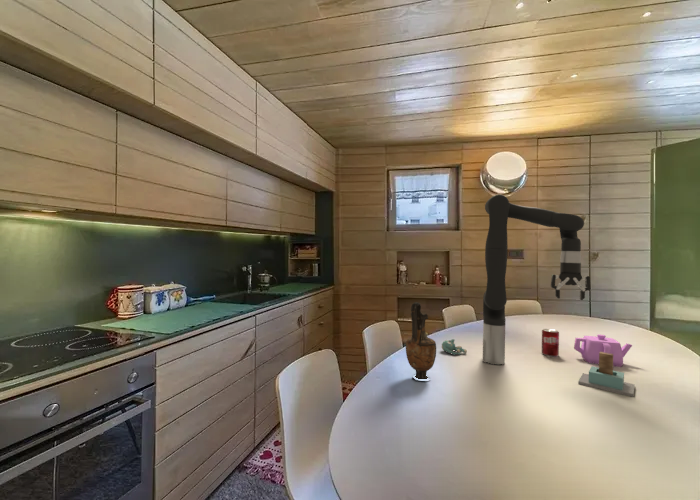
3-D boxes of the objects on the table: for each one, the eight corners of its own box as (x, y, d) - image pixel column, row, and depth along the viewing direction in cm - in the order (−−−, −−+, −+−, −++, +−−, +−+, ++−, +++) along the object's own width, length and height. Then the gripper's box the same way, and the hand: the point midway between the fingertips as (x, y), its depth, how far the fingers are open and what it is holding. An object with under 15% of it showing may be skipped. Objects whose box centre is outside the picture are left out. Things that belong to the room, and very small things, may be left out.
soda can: (561, 357, 159) (561, 332, 159) (544, 356, 160) (545, 331, 160) (555, 353, 166) (555, 329, 166) (539, 352, 167) (539, 328, 167)
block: (598, 382, 126) (599, 353, 126) (599, 380, 128) (600, 351, 128) (612, 385, 124) (612, 355, 124) (612, 383, 125) (613, 354, 126)
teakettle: (570, 357, 159) (571, 332, 159) (592, 354, 166) (593, 329, 166) (610, 369, 144) (611, 341, 144) (633, 365, 151) (633, 337, 151)
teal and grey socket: (578, 383, 127) (578, 370, 127) (582, 375, 136) (583, 363, 136) (633, 396, 116) (633, 382, 116) (634, 386, 125) (634, 373, 125)
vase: (441, 378, 129) (442, 301, 129) (424, 387, 120) (426, 304, 120) (415, 370, 137) (416, 298, 137) (397, 378, 128) (399, 301, 128)
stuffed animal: (468, 346, 156) (442, 338, 160) (465, 360, 157) (439, 352, 161) (468, 340, 166) (444, 333, 170) (465, 354, 167) (441, 347, 171)
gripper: (553, 261, 143) (552, 298, 143) (592, 262, 138) (592, 301, 138) (550, 261, 150) (549, 296, 150) (587, 262, 145) (586, 299, 145)
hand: (569, 299), depth 144 cm, fingers open, 8 cm apart
